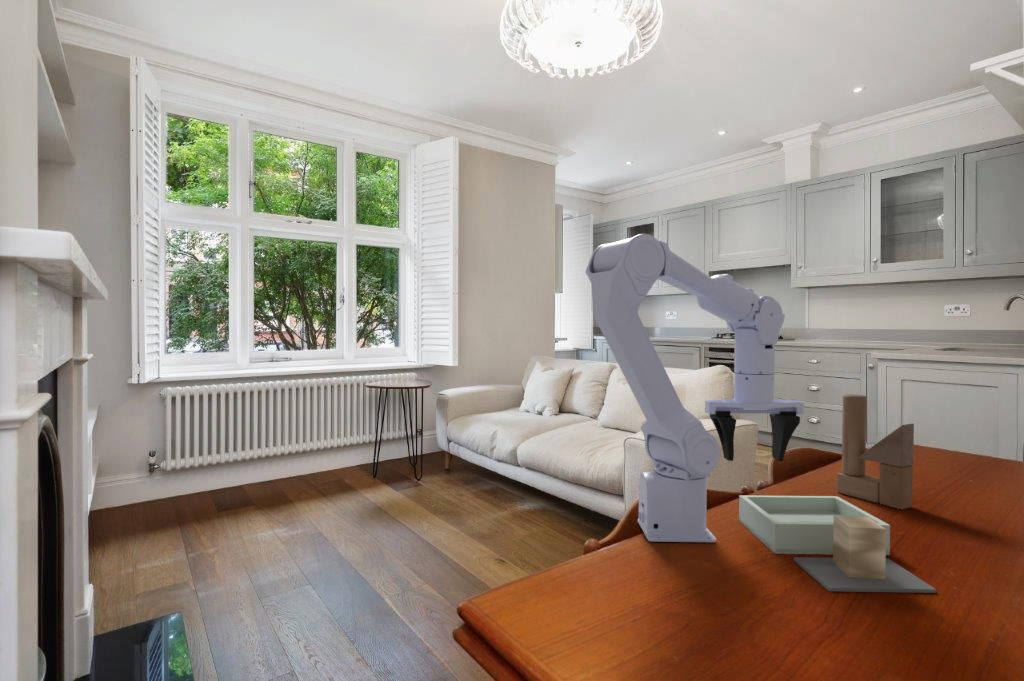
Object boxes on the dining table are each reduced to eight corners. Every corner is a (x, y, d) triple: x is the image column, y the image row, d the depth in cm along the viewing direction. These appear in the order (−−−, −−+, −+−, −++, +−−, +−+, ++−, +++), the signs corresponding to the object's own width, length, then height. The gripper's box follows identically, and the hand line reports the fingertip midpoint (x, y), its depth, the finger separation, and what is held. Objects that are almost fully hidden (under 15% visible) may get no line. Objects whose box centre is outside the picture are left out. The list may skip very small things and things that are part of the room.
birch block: (848, 577, 63) (849, 527, 63) (833, 562, 67) (833, 515, 67) (885, 579, 62) (886, 528, 62) (867, 564, 66) (867, 516, 66)
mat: (828, 591, 60) (828, 587, 60) (793, 560, 68) (793, 557, 68) (936, 592, 60) (936, 589, 60) (888, 561, 68) (888, 558, 68)
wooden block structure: (901, 510, 87) (903, 401, 86) (835, 492, 96) (837, 394, 96) (913, 507, 89) (915, 400, 88) (847, 489, 98) (849, 393, 98)
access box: (774, 553, 70) (775, 523, 70) (738, 520, 82) (739, 495, 82) (889, 555, 70) (890, 525, 70) (836, 521, 82) (837, 496, 82)
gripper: (788, 371, 87) (787, 453, 87) (699, 371, 87) (698, 452, 87) (811, 375, 80) (810, 464, 80) (714, 374, 80) (713, 463, 80)
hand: (753, 459), depth 83 cm, fingers open, 7 cm apart
